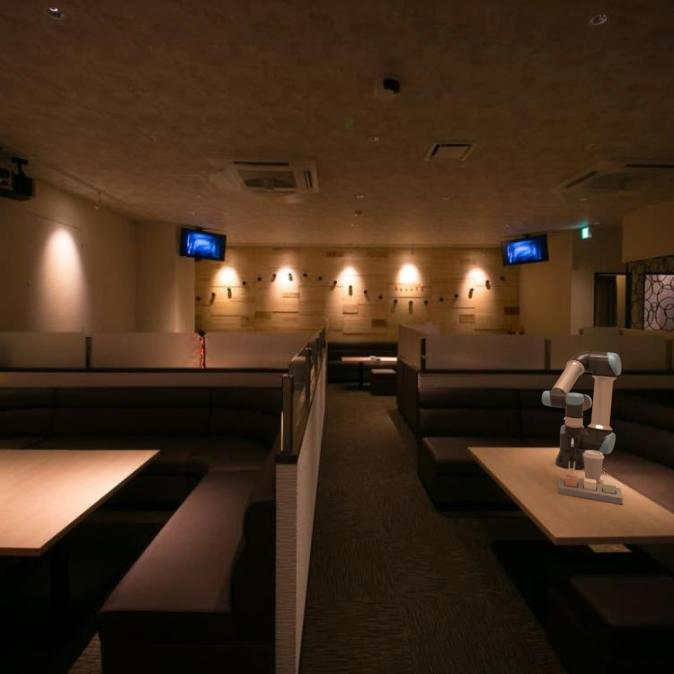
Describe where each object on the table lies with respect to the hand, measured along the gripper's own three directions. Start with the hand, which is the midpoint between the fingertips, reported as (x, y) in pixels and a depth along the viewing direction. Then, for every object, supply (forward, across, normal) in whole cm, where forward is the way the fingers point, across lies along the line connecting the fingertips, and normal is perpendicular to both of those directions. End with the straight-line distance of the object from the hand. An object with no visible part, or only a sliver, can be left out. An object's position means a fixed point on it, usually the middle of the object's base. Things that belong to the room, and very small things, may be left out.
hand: (571, 474), depth 232 cm
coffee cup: (+8, -20, +9) cm, 24 cm away
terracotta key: (+5, 0, 0) cm, 5 cm away
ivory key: (+5, 0, +8) cm, 10 cm away
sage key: (+5, 0, +16) cm, 17 cm away
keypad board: (+8, 0, +8) cm, 12 cm away
